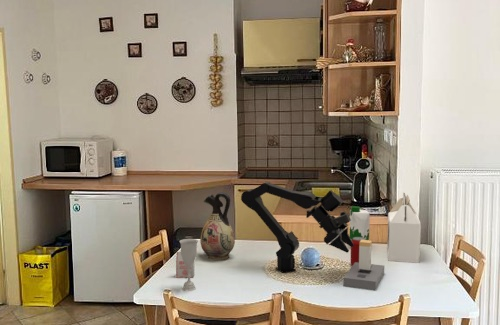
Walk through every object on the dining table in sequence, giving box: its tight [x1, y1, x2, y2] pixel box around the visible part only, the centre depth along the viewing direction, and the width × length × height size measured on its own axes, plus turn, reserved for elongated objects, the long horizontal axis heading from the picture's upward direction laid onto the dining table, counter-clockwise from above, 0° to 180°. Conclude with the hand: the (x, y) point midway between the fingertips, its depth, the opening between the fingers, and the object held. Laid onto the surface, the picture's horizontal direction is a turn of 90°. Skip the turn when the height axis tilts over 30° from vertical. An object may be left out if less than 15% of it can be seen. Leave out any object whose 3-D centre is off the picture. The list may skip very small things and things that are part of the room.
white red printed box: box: [175, 251, 195, 279], centre depth 216 cm, size 4×7×10 cm, turn 88°
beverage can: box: [350, 237, 366, 267], centre depth 232 cm, size 7×7×12 cm
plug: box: [359, 239, 373, 270], centre depth 213 cm, size 4×4×11 cm
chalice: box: [179, 238, 199, 292], centre depth 202 cm, size 7×7×18 cm
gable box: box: [386, 192, 422, 264], centre depth 248 cm, size 22×13×28 cm, turn 167°
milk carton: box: [349, 205, 371, 241], centre depth 260 cm, size 9×9×20 cm
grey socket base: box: [342, 262, 385, 291], centre depth 213 cm, size 12×22×4 cm, turn 158°
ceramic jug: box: [199, 191, 236, 261], centre depth 242 cm, size 17×15×30 cm
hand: (350, 249), depth 215 cm, fingers open, 9 cm apart
